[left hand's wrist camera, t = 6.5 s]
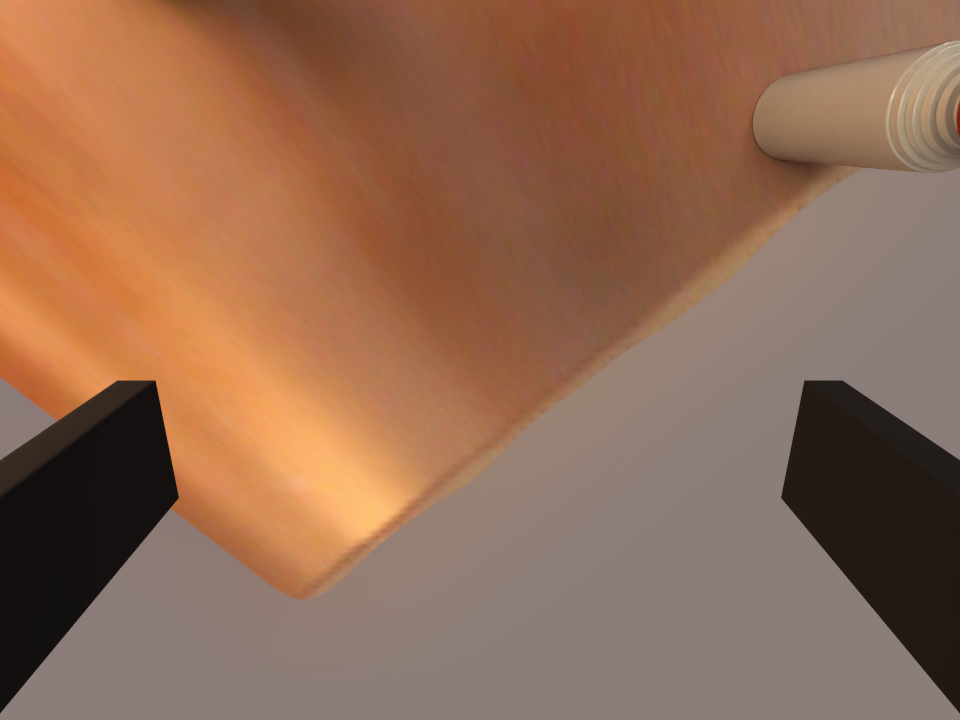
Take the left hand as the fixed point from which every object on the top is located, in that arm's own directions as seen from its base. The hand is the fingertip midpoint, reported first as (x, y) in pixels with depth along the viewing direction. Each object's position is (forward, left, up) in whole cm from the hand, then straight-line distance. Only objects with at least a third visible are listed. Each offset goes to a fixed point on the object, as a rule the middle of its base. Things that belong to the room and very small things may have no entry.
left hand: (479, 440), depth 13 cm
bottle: (-7, +19, -28) cm, 34 cm away
